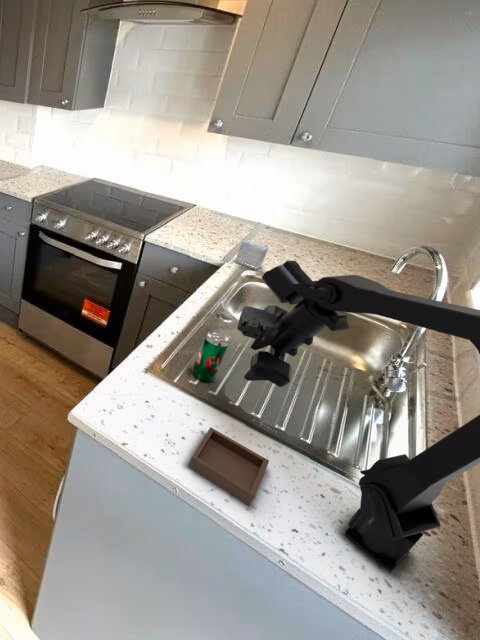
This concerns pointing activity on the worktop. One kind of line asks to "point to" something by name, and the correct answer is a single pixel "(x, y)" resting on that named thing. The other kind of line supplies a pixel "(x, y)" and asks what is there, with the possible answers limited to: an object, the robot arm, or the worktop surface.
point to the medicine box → (251, 254)
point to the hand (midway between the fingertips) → (249, 363)
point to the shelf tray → (229, 465)
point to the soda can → (210, 356)
